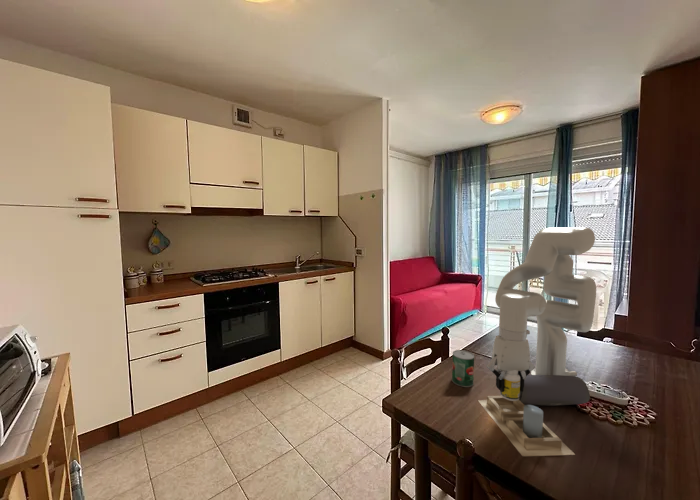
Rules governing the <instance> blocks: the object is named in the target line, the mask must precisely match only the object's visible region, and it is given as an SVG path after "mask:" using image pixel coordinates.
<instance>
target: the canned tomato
mask: <svg viewBox="0 0 700 500" xmlns="http://www.w3.org/2000/svg"><path fill="white" fill-rule="evenodd" d="M451 371H452V372H451V382H453V384H455V385H457V386H458V387H462V388H469V387H473V386H474V378H475V377H474V373H475V355H474V353H473V352H470V351H467V350H464V349H463V350H462V349H457V350H453V352H452V368H451Z"/></svg>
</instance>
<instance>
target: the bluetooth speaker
mask: <svg viewBox="0 0 700 500" xmlns="http://www.w3.org/2000/svg"><path fill="white" fill-rule="evenodd" d="M526 377H527V378H526V379H524V388H523V392H521V391H520V395H519V400H520V401H521V402H522V403H523V404H524V405H533V406H549V407H550V406H552V407H553V406H569V405H570V406H571V405H581V404H586V403H588V402H589V401H590V397H591V396H590V395H591V394H590V390H589V388H588V386H587V385H588V384H587V383H586V382H585V381H584V379H582V378H581V377H578V376H564V375H531V374H528V375H527V376H526Z"/></svg>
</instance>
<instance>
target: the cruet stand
mask: <svg viewBox="0 0 700 500" xmlns="http://www.w3.org/2000/svg"><path fill="white" fill-rule="evenodd" d="M477 401H478V403H479V404H480V405H481V407H483V410H484V411H485V412H486V413H487V414H488V415H489V417H491V419H492V420H493V421H494V423H495V424H496V426H498V427H499V429H500V430H501V432H502V433H503V434H504V435H505V436H506V438H507V439H508V440H509V441H510V443H511V444H512V445H513V447H515V449H516V450H517V452H518V453H519V454H520V455H521V456H522V457H545V456H546V457H548V456H575V455H576V454H575V453H574V452H573V450H571V449H570V448H569V447H568V446H567V445H566V444H565V443H564V442H563V440H562V439H561V438H560V437H559V436H558V435H556V433H555V432H554V431H552V430H551V428H550V427H548V426H547V425H546V424H545V423H544V422H543V430H542V438H528V437H527V436H526V435H525V433H524V432H523V413H524V406H525V405H526V404H523V403H522V402H521V401H520V400H517V401H510V400H507V399H505V398H503V397H502V396H501V395H487V396H486V399H478V400H477Z"/></svg>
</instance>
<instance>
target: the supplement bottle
mask: <svg viewBox="0 0 700 500" xmlns="http://www.w3.org/2000/svg"><path fill="white" fill-rule="evenodd" d="M503 379H504V380H505V385H504V392H501V391H500V390H499V394H500V395H499V396H502V397H503V398H505V399H507V400H510V401H517V400H519V395H520V376H519V375H518V371H516V370H513V371H506V372H505V374H504V377H503Z"/></svg>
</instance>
